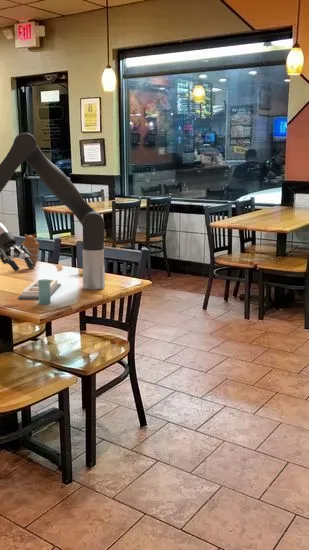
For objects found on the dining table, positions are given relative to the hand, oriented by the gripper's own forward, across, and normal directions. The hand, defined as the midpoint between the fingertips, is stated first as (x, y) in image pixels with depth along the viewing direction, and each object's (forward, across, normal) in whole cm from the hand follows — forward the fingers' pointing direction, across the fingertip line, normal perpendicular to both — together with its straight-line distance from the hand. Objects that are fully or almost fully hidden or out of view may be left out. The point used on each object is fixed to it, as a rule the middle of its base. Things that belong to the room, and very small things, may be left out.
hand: (25, 268), depth 210 cm
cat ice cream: (-19, +52, +38) cm, 67 cm away
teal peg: (+16, 0, +2) cm, 16 cm away
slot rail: (+6, +14, +12) cm, 19 cm away
